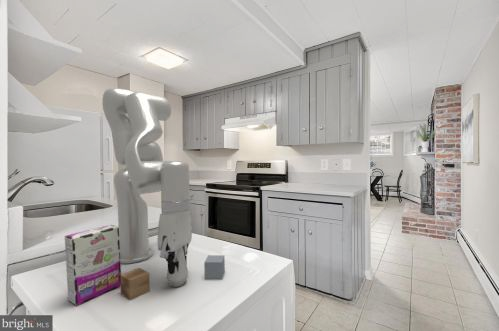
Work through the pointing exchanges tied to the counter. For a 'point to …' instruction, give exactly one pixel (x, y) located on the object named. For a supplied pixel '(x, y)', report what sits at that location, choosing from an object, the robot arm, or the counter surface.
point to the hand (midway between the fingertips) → (177, 271)
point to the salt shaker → (181, 274)
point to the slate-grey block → (214, 267)
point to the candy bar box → (92, 263)
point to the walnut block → (135, 283)
